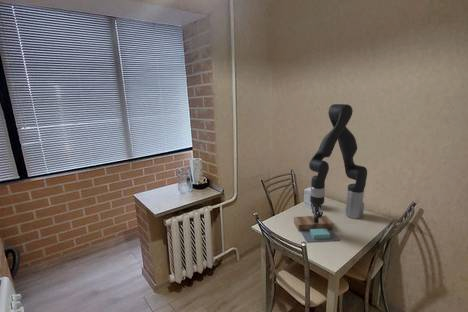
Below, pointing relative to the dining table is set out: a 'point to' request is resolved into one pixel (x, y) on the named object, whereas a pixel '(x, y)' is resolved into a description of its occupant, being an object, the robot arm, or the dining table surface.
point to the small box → (307, 198)
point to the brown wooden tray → (312, 223)
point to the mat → (310, 239)
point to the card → (319, 233)
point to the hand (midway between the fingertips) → (316, 222)
